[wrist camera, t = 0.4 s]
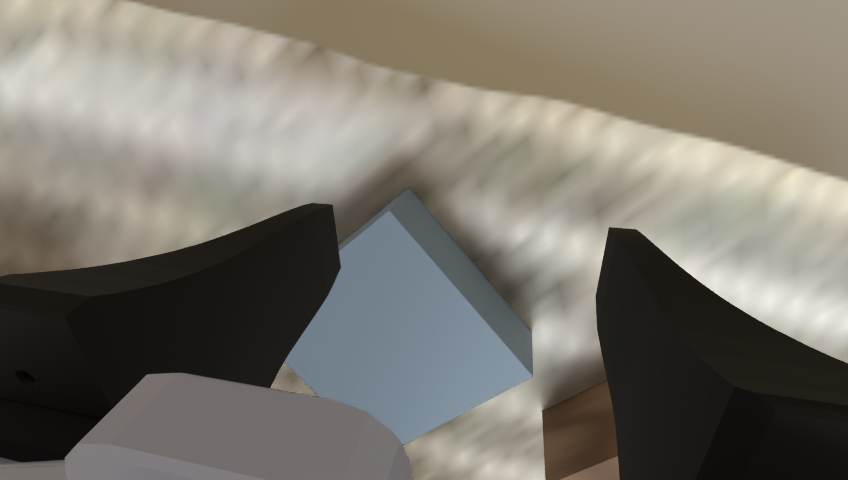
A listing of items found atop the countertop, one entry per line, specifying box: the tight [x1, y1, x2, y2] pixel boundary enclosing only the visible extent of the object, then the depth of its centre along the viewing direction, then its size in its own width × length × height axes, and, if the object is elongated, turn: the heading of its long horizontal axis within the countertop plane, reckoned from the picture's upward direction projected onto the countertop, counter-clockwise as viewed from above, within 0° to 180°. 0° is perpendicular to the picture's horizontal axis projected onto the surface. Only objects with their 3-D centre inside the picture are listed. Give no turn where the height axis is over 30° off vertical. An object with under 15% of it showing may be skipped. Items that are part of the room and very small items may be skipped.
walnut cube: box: [542, 380, 620, 480], centre depth 23 cm, size 5×5×5 cm
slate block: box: [284, 188, 533, 445], centre depth 24 cm, size 10×10×4 cm
